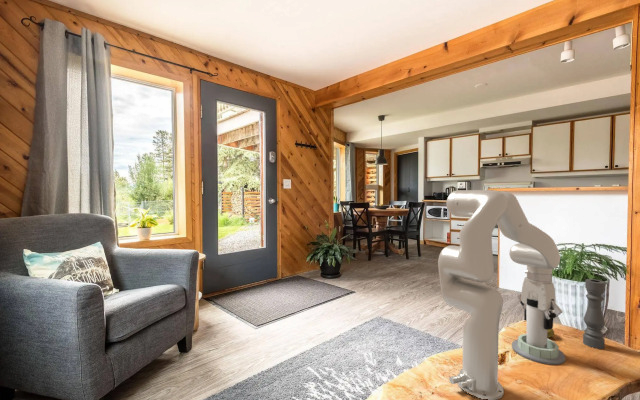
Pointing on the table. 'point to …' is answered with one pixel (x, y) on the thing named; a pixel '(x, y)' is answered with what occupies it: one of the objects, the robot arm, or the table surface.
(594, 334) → the candle holder
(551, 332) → the sculpture
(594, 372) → the table surface
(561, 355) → the mug dock
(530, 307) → the travel mug
